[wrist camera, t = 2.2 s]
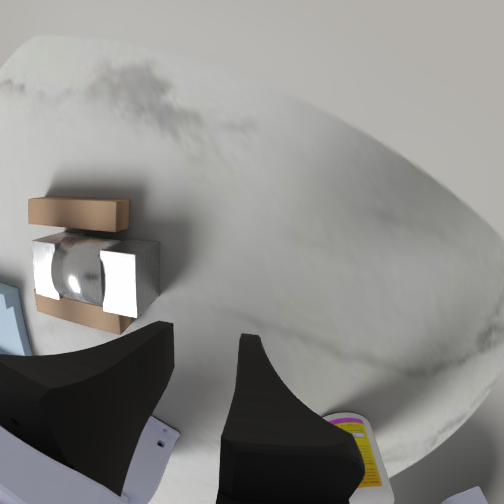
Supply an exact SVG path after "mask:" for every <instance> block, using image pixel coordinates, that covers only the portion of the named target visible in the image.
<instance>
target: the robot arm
mask: <svg viewBox="0 0 504 504" xmlns="http://www.w3.org/2000/svg"><path fill="white" fill-rule="evenodd" d="M174 366H175V365H174V333H173V323H169V322H163V321H157V322H154V323H151V324H149V325H147V326H145V327H142V328H140V329H138V330H136V331H134V332H131V333H129V334H127V335H125V336H122V337H120V338H117V339H115V340H112V341H109V342H107V343H104V344H101V345H98V346H95V347H92V348H88V349H84V350H80V351H75V352H69V353H62V354H56V355H43V356H22V355H8V354H0V504H148V502H149V501H150V500H151V498H152V497H153V495H154V493H155V492H156V490H157V488H158V486H159V484H160V481H161V479H162V476H163V473H164V471H165V468H166V465H167V463H168V460H169V457H170V455H171V452H172V449H173V447H174V444H175V441H176V440H177V439H178V438H179V436H180V434H179V432H177V431H176V430H174V429H172V428H170V427H169V426H167V425H165V424H164V423H162V422H160V421H159V420H157V419H155V418H154V417H152V416H151V414H152V412H153V410H154V409H155V407H156V405H157V403H158V402H159V400H160V398H161V396H162V394H163V392H164V391H165V389H166V387H167V385H168V382H169V380H170V377H171V374H172V372H173V369H174ZM364 476H365V465H364V461H363V457H362V454H361V452H360V449H359V447H358V445H357V443H356V441H355V439H354V437H353V435H352V434H351V433H349V432H347V431H345V430H343V429H341V428H339V427H337V426H335V425H334V424H332V423H330V422H328V421H326V420H325V419H323V418H322V417H320V416H319V415H318V414H316V413H315V412H313V411H312V410H311V409H309V408H308V407H307V406H306V405H305V404H303V403H302V402H301V401H300V400H299V399H298V398H297V397H296V396H295V395H294V394H293V393H292V392H291V391H290V390H289V389H288V388H287V386H286V385H285V384H284V383H283V381H282V380H281V379H280V377H279V376H278V374H277V373H276V371H275V370H274V368H273V366H272V365H271V363H270V361H269V359H268V357H267V355H266V353H265V351H264V348H263V346H262V343H261V338H260V337H259V336H258V335H252V334H243V333H242V334H241V337H240V341H239V352H238V363H237V375H236V386H235V392H234V396H233V400H232V403H231V407H230V410H229V414H228V417H227V421H226V424H225V427H224V430H223V433H222V435H221V448H220V470H219V489H218V494H217V499H216V504H350V502H349V499H350V497H351V496H352V495H353V493H354V492H355V490H356V489H357V488H358V486H359V485H360V483H361V482H362V480H363V478H364ZM441 504H488V503H487V501H486V499H485V497H484V495H483V493H482V491H481V489H480V487H474V488H472V489H469V490H467V491H464V492H462V493H459V494H457V495H454V496H452V497H450V498H448V499H446V500H445V501H443V502H442V503H441Z"/></svg>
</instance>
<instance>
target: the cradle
mask: <svg viewBox="0 0 504 504" xmlns="http://www.w3.org/2000/svg"><path fill="white" fill-rule="evenodd" d="M0 354H8V355H22V356H32V352H31V348H30V344H29V341H28V337H27V332H26V328H25V324H24V319H23V314H22V309H21V303H20V298H19V292H18V288H15V287H12V286H9V285H6V284H3V283H0Z"/></svg>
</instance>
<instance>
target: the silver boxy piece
mask: <svg viewBox="0 0 504 504" xmlns="http://www.w3.org/2000/svg"><path fill="white" fill-rule="evenodd" d="M32 254H33V266H34V275H35V284H36V291H37V294H40V295H44V296H47V297H51V298H54V299H58V300H60V299H62V298H63V297H65V298H69V299H73V300H77V301H81V302H85V303H89V304H94V305H98V306H103V310H104V311H106V312H111V313H115V314H120V315H125V316H130V317H134V318H138V317H139V316H140V315H141V314H142V313H143V312H144V311H145V310H146V309H147V308H148V307H149V306H150V305H151V304H152V303H153V302H154V301H155V300H156V299H157V298H158V297H159V254H160V242H153V241H144V240H135V239H127V240H125V241H122V242H121V241H119V240H113V239H104V238H95V237H86V234H79V233H70V232H61V233H57V234H54V235H50V236H47V237H43V238H39V239H36V240H33V241H32Z"/></svg>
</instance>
